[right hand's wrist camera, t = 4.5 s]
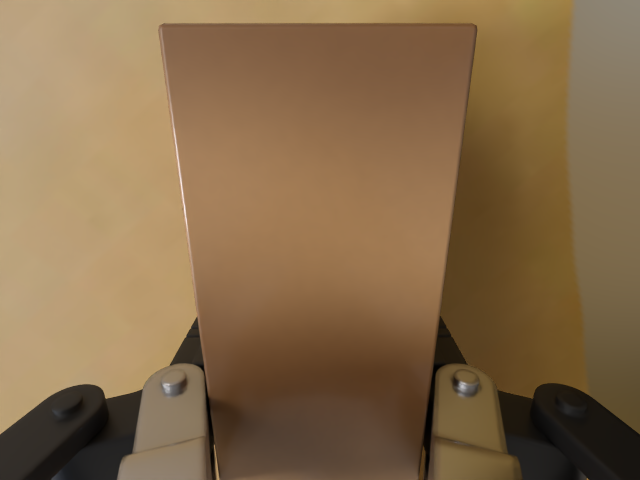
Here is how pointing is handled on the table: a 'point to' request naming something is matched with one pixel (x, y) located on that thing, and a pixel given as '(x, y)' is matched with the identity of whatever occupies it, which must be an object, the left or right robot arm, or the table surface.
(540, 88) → the table surface
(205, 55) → the bar
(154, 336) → the table surface
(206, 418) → the right robot arm
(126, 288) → the table surface
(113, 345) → the table surface
